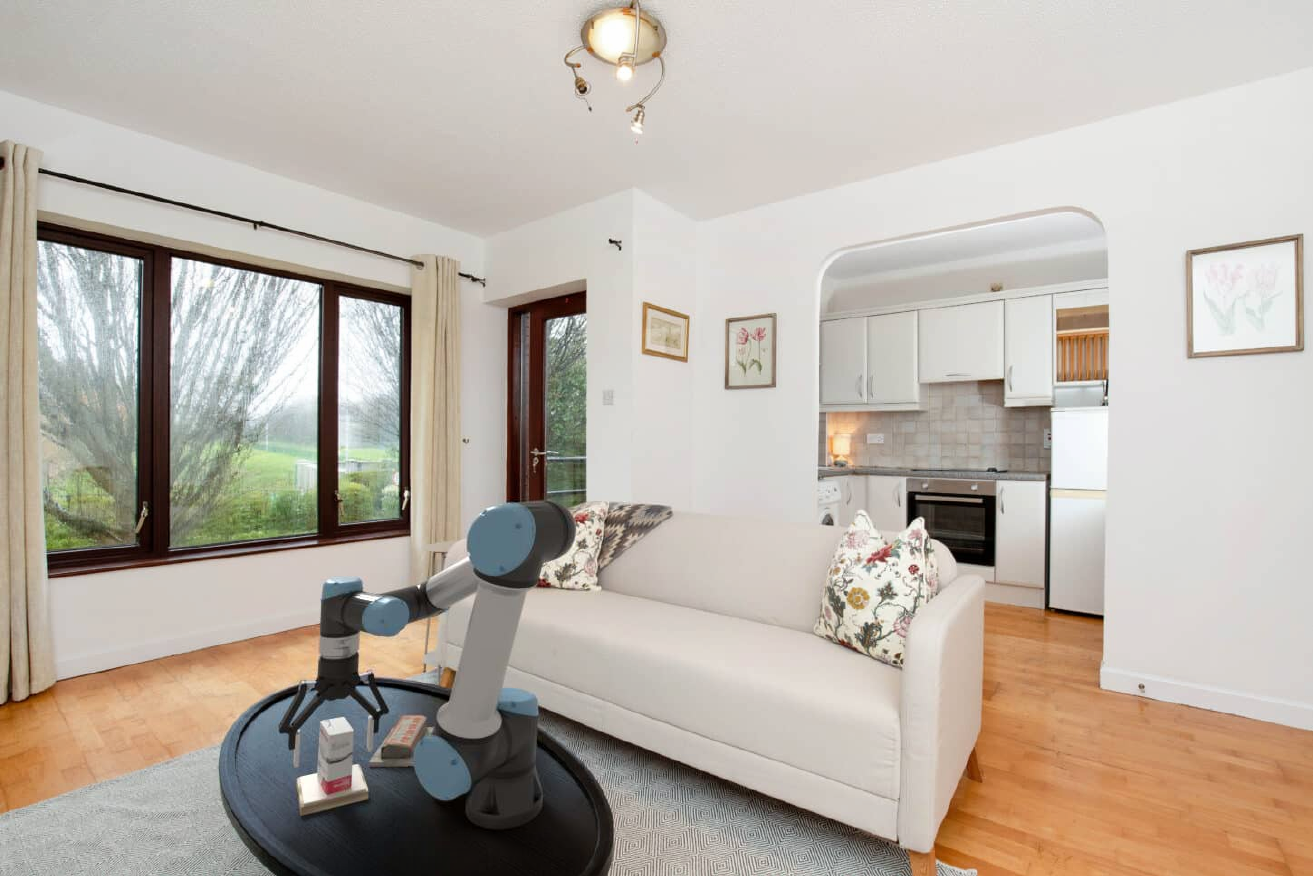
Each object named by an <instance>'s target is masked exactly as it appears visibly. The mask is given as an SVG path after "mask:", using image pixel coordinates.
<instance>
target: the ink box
mask: <svg viewBox="0 0 1313 876" xmlns="http://www.w3.org/2000/svg"><path fill="white" fill-rule="evenodd" d="M318 735H319V736H318V751H317V753H318V754H317V768H316V769H317V770H316V773H317V778H318V780H319V782H320V784H321V785H322V787H323V789H324V791H325V793H326V794H327V795H328V794H331V793H335V792H338V791H341V790H344V789H347V788H351V786H352V765H353V760H354V759H353V757H354V737H355V730H354V729H353V727H352V726H351V724H350V723H349V722H348V720H347V719H346V718H345V716H341V717H335V718H330V719H324V720H321V721H320V722H319V733H318Z"/></svg>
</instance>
